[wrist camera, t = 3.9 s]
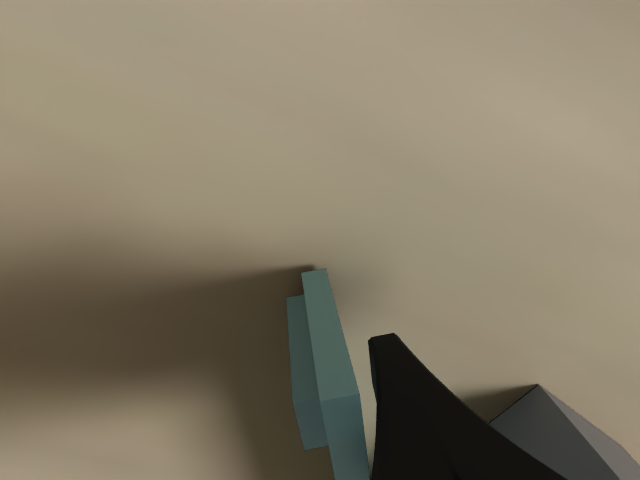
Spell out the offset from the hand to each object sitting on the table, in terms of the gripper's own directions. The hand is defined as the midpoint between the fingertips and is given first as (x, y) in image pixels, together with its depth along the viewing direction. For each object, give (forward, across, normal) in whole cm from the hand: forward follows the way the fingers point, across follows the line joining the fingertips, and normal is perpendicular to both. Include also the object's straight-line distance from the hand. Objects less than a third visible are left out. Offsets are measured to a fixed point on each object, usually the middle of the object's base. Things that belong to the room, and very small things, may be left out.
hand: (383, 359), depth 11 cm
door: (+2, +2, +5) cm, 6 cm away
